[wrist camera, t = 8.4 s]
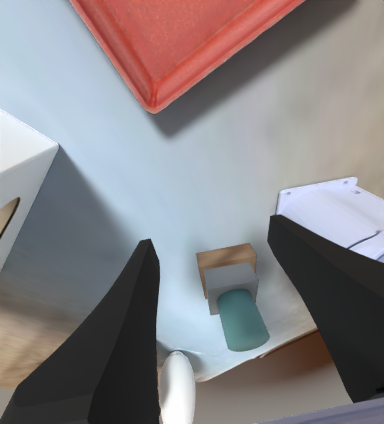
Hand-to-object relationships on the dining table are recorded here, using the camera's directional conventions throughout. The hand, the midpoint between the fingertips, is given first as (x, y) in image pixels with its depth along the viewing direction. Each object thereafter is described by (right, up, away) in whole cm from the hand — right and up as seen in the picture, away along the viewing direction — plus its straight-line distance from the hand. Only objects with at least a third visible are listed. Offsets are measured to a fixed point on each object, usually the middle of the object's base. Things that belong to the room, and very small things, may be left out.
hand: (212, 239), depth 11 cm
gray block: (+4, -8, +16) cm, 18 cm away
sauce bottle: (-5, -33, +35) cm, 48 cm away
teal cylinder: (+4, -10, +13) cm, 17 cm away
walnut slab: (+4, -7, +18) cm, 20 cm away
